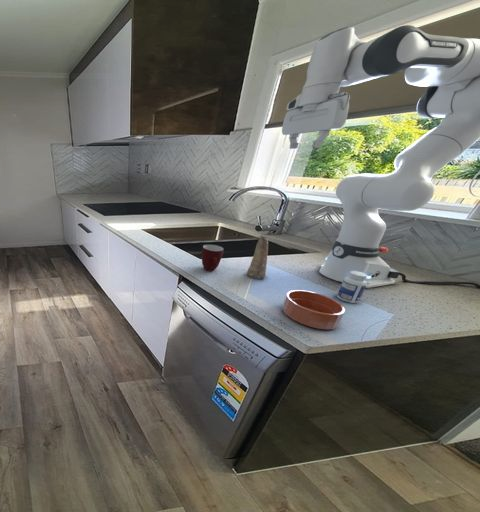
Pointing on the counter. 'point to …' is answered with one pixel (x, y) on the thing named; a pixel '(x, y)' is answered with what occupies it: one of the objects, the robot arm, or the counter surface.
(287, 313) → the bowl
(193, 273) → the counter surface
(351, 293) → the pill bottle
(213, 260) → the mug
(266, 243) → the brown tapered cone
